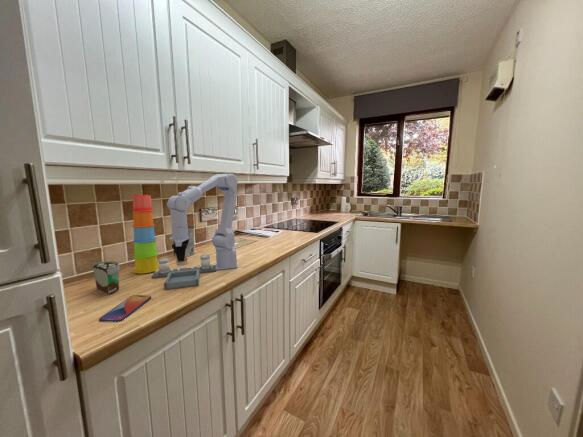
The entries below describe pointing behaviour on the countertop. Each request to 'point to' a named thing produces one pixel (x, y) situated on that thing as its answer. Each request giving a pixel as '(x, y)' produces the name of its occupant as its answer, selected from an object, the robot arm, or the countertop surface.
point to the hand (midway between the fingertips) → (181, 259)
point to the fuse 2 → (205, 262)
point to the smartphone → (125, 308)
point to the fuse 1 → (164, 266)
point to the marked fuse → (182, 261)
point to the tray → (182, 279)
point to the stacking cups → (144, 235)
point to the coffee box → (191, 242)
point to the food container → (107, 276)
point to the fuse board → (158, 275)
